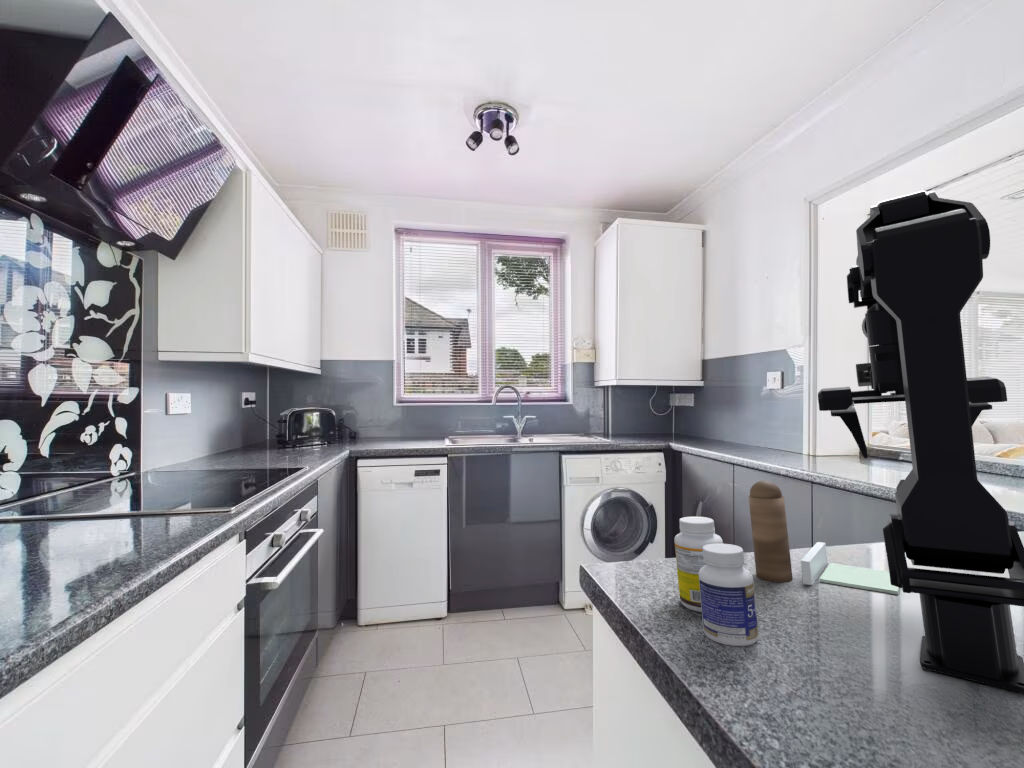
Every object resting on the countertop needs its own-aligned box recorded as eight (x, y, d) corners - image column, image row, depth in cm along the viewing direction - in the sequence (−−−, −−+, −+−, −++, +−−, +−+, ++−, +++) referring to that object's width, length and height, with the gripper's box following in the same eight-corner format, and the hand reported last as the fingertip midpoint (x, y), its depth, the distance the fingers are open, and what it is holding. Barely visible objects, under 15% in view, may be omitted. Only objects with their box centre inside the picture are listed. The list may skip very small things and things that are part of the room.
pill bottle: (763, 650, 44) (754, 556, 45) (705, 645, 46) (697, 554, 47) (754, 626, 49) (745, 542, 50) (701, 622, 51) (694, 540, 52)
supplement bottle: (708, 594, 59) (701, 513, 60) (740, 610, 53) (731, 521, 54) (670, 600, 57) (663, 517, 58) (698, 618, 52) (690, 526, 53)
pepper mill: (788, 584, 60) (777, 483, 61) (752, 578, 63) (742, 482, 64) (796, 575, 64) (785, 479, 65) (761, 569, 67) (752, 478, 68)
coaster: (898, 594, 55) (897, 591, 55) (819, 581, 61) (819, 578, 61) (902, 576, 61) (901, 573, 61) (830, 565, 66) (830, 563, 66)
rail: (812, 585, 60) (809, 561, 60) (803, 583, 60) (800, 560, 60) (827, 563, 67) (825, 542, 68) (819, 562, 68) (817, 541, 68)
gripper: (975, 334, 63) (988, 446, 63) (814, 352, 74) (825, 447, 74) (1001, 332, 54) (1015, 463, 54) (812, 353, 64) (825, 462, 64)
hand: (908, 458), depth 62 cm, fingers open, 9 cm apart
